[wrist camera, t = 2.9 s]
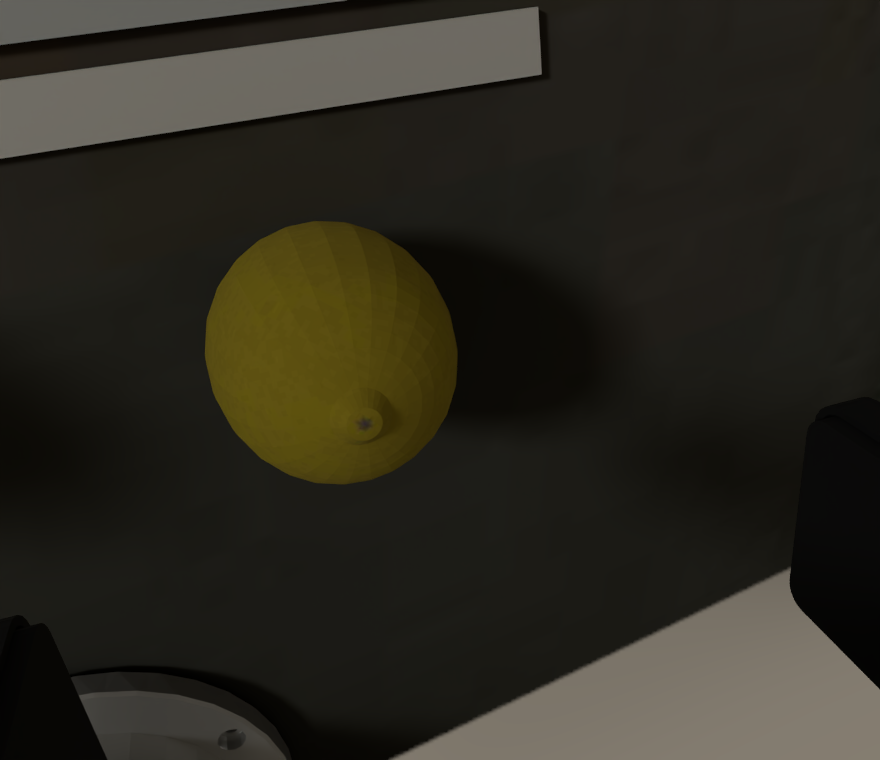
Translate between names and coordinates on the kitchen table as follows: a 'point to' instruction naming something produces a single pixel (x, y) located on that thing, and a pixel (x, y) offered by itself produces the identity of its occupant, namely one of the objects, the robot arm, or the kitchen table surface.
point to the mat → (116, 15)
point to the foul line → (263, 80)
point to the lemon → (331, 352)
